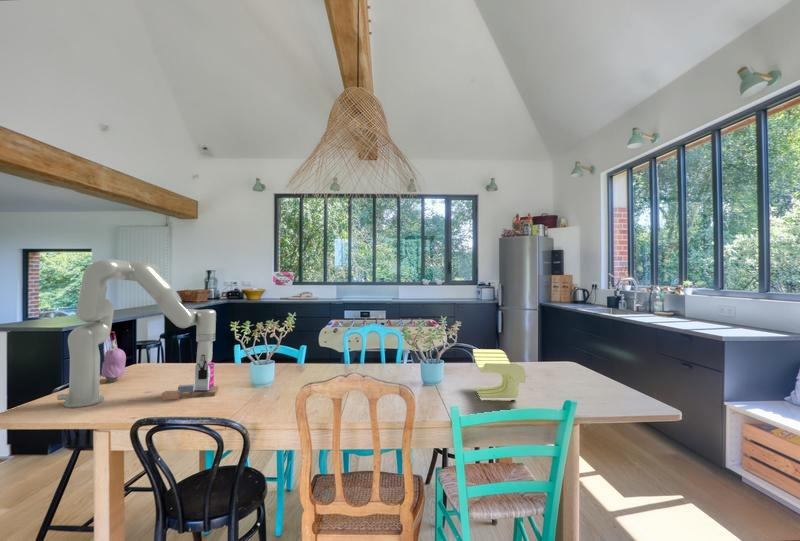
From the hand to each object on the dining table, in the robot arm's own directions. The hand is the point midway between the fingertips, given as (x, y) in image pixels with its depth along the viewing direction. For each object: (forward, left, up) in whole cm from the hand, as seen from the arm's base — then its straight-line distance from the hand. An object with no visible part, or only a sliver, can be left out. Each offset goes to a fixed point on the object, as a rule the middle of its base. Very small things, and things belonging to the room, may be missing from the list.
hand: (204, 376), depth 166 cm
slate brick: (-8, +6, -8) cm, 13 cm away
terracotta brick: (-12, -3, -8) cm, 15 cm away
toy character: (-47, +35, -8) cm, 60 cm away
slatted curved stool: (+123, -40, -8) cm, 129 cm away
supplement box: (0, 0, -6) cm, 6 cm away
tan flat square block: (0, 0, -8) cm, 8 cm away
